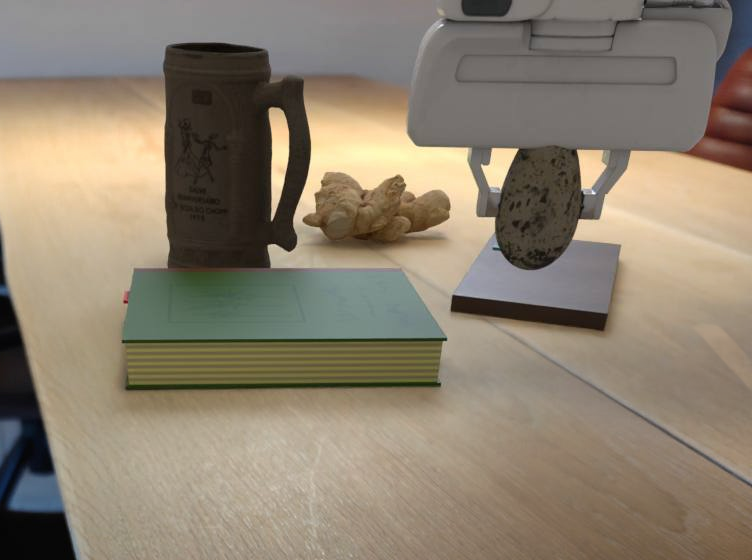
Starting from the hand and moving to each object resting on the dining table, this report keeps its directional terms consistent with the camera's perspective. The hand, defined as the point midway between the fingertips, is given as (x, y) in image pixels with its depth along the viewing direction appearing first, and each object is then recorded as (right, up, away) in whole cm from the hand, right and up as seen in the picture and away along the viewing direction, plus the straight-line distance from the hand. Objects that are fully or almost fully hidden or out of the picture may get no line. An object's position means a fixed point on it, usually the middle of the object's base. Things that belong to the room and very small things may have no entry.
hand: (536, 217), depth 67 cm
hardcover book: (-19, -6, +10) cm, 23 cm away
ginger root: (-8, +16, +40) cm, 44 cm away
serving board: (+8, +6, +27) cm, 28 cm away
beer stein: (-23, +7, +27) cm, 36 cm away
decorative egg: (0, -3, +2) cm, 4 cm away
